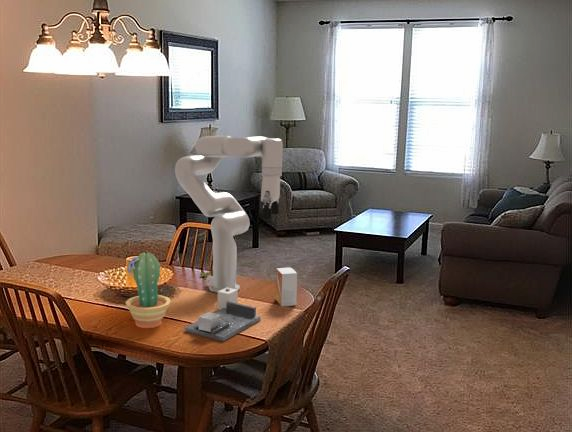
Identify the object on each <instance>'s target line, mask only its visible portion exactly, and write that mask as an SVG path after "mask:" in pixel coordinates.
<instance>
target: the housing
mask: <svg viewBox="0 0 572 432" xmlns="http://www.w3.org/2000/svg"><path fill="white" fill-rule="evenodd" d="M238 296H239V292H238V290H237V289H232V288H224V289H222V290H220V291H218V293H217V310H220V309H222V308H226V302H228V301H230V302H234V303H238V301H239V297H238ZM238 304H239V303H238Z"/></svg>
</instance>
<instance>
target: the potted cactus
mask: <svg viewBox="0 0 572 432" xmlns="http://www.w3.org/2000/svg"><path fill="white" fill-rule="evenodd" d="M127 272H128V274H129V276H131V275H132V277H133V280H134V282H135V284H136V289H137V295H136V296H132V297H130V298H128V299H127V300H126V301H125V305H126V308H127V310H129V312H130V314H131V316H132V318H133V320H134V321H135V325H136V327H138V328H141V329H142V328H143V329H149V328H150V329H151V328H153V329H154V328H157V327H160V326H161V325H162V323H163V322H162V319H163V318H164V317H165V315H166V313H167V311H168V308H170V306H171V302H172V301H171V299H170V298H169V297H168V296H164V295H161V294H158V284H159V280H160V277H161V276H160V275H161V263H160V262H159V260H158V259H157V257H156V256H155V255H154V254H153V253H151V252H147V253H145V252H142V253H139V255H138V256H134V257H132V258H131V260H130V262H129V264H128V266H127Z"/></svg>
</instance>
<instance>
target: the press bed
mask: <svg viewBox="0 0 572 432" xmlns="http://www.w3.org/2000/svg"><path fill="white" fill-rule="evenodd" d="M213 313H215V314H219V315H220V316H221V320H220V327H218V328H217V329H215V330H213V331H211V332H207V331H204V330H200V329H198V327H199V319H198V320H196V321H194V322H192V323H190V324H188V325H186V326H184V332H186V333H189V334H193V335H195V336H196V335H197V336H201V337H205V338H208V339H212V340H215V341H220V342H225V341H227V340H229V339H231V338H232V337H234V336H236V335H238V334H240V333H241V332H244V331H245V330H246V329H248V328H250V327H252V326H253V325H255V324H257V323H258V322H260V321H261V316H259V315H257V307H256V306H251V305H247V304H242V303H234V302H230V301H228V302H226V308H222V309H220V310H219V309H217V311H215V312H213Z"/></svg>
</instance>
